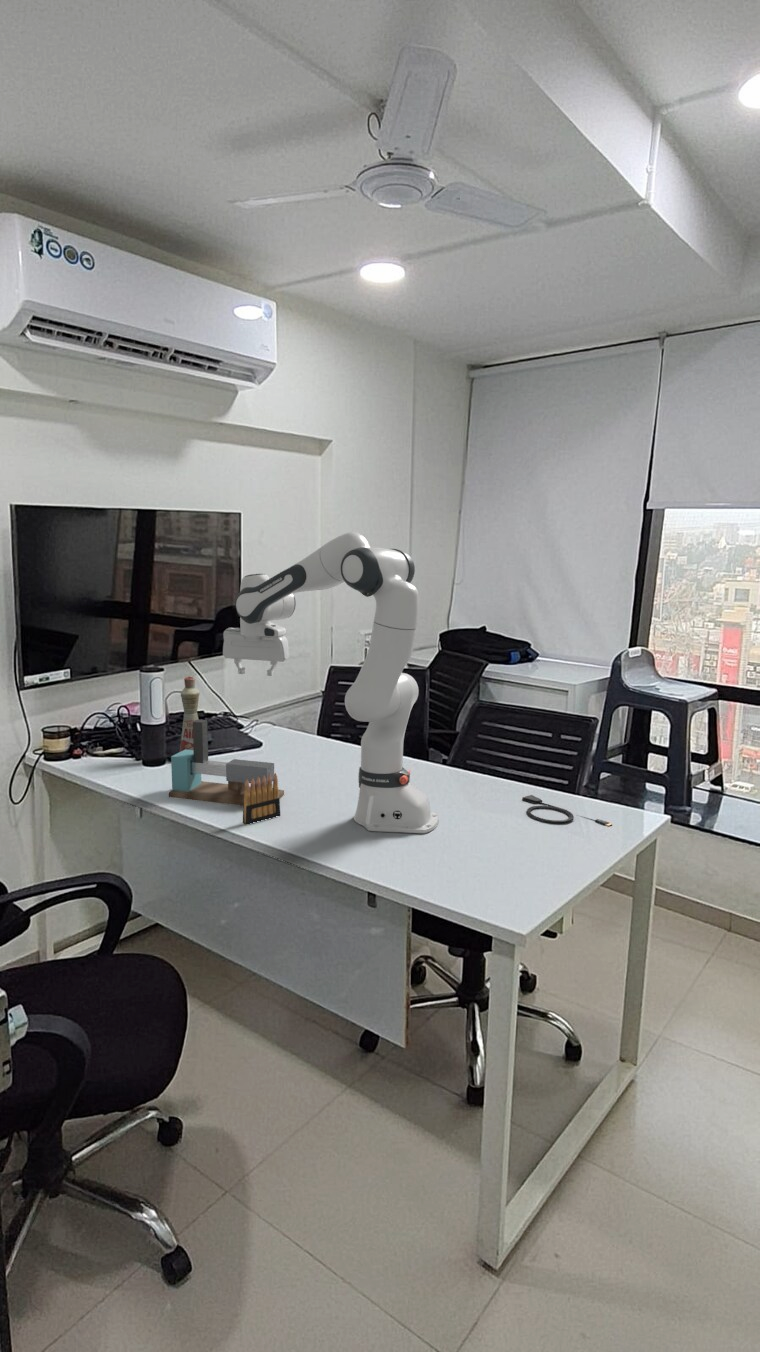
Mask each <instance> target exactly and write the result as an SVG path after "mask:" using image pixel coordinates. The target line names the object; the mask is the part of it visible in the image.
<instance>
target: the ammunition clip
mask: <svg viewBox="0 0 760 1352" xmlns="http://www.w3.org/2000/svg"><path fill="white" fill-rule="evenodd" d="M278 784H279V781H278V775H277V773H276V772H274V778H273V781H272V778H271V775H270V774H269V776H268V785H267V786H266V778H265V776H263V779H262V789H261V783H260V778H259V777H258V778H257V782H256V792H255V782H254V779H253V778H252V780H251V783H249V782H248V780H247V779H246V782H245V793H244V804H243V806H242V823H243V824H244V825H246V824H249V825H251V824H250V823H252V824H254V823H253V822H256V823H258V822H257V821H260V822H262V821H261V820H264V821H266V820H265V819H267V820H270V819H269V818H271V819H274V818H273V817H275V818H277V817H276V816H279V817H281V803H280V802H281V801H280V799H281V798H279V790H280V789H279V785H278ZM249 786H250V787H251V788H250V790H249Z"/></svg>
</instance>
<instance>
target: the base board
mask: <svg viewBox="0 0 760 1352" xmlns="http://www.w3.org/2000/svg"><path fill="white" fill-rule="evenodd" d="M266 786H267V785H266ZM250 788H251V785H249V790H250ZM261 789H262V785H261ZM255 792H256V784H255ZM244 793H245V783H242V782H233V781H227V783H221V782H212V781H211V782H209V781H205V780H204V781H203V780H201V784H200V785H198V786H197V787H195V788H193V789H192V790H190V791H188V792H185V791H176V790H172V789H171V790H170V791H168V798H173V799H180V800H181V799H182V800H189V801H190V800H191V801H198V802H205V803H216V804H222V805H223V804H225V805H233V806H242V807H243V804H244ZM283 795H284V796H285V790H284V789H279V798H280V799H281V798H282V797H284V796H283Z"/></svg>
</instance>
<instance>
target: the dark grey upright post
mask: <svg viewBox="0 0 760 1352" xmlns="http://www.w3.org/2000/svg"><path fill="white" fill-rule="evenodd" d="M208 738H209V736H208V720H207V719H199V720H196V721H193V752H194V759H193V760H191V761H190V769H191V773H196V774H201V775H207V776H208V775H209V776H216V777H225V778H226V764H227V763H228V762H226V761H217V760H216V761H215V760H209V742H208V740H209V739H208Z"/></svg>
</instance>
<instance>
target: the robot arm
mask: <svg viewBox="0 0 760 1352" xmlns="http://www.w3.org/2000/svg"><path fill="white" fill-rule="evenodd" d="M415 569H416V568H415V563H414V560H413V558H412V557H411V556H410V554H408V553H407V552H405V551H403V550H400V549H398V548H397V549H396V548H386V547H381V546H372V547H371V545H370V543H369V541H368V540H367V538H366V537H365V536H364V535H362V534H361V533H359V532H356V531H349V532H346V533H344V534H340V535H338V536H337V537H335V538H333V539H332V540H329V541H328V542H326V543H325V544H323V545H322V546H321V547H319V548H318V549H316V550H315V551H313V552H312V553H311V554H309V555H308V556H306V557H305V558H303V559H302V560H300V561H298V562H296V563H295V564H293V565H292V566H290V567H288V568H286V569H284V570H282V571H280V572H279V573H277V574H275V575H274V576H272V577H271V578H270V577H269V575H267V574H266V573H254V574H253V573H252V574H248V575H245V576H244V577H242V579H241V582H240V587H239V593H238V594H237V596H236V599H235V610H236V612H237V615H238V617H240V618H239V624H240V627H228V628H226V629H225V630H224V631H223V634H222V635H223V645H222V656H223V657H224V659H233V661H234V664H235V667H236V668H237V674H238V675H244V674H246V667H244V666H243V665H242V663H241V662H242V661H243V660H249V661H262V662H263V661H267V662H269V663H270V665H271V666H270V668H269V669H267V670H266V672H267V673H266V676H269V677H274V674H275V669H276V667H277V666H278V662H279V663H280V662H286V661H287V660H288V659H289V657H290V648H289V646H290V645H289V641H288V638H287V637H286V636H285V635H286V634H287V629H286V628H285V627H284V626H281V625H279V624H276V623H273V622H271V621H279V620H286V619H288V618H290V617H292V616H293V613H294V612H295V610H296V605H297V604H296V603H297V602H296V597H295V595H294V594H297V593H301V592H310V591H311V592H312V591H323V590H327V589H331V588H334V587H338V586H339V585H342V584H343V583H345V584H346V585H347V586H348V587H350V588H351V589H353V590H355V591H357V592H359V593H360V594H361V595H362V596H364V597H366V598H369V597H371V596H373V597H374V599H375V603H376V606H375V613H374V617H373V622H372V623H373V624H372V630H371V635H370V641H369V645H368V650H367V653H366V656H365V658H364V661H363V664H362V666H361V668H360V671H359V673H358V675H357V676H356V678H355V681H354V682H353V684H352V685H351V686H350V687H349V688H348V690H347V691H346V692H345V695H344V706H345V709H346V711H347V713H348V715H349V716H350V717H351V718H352V719H354V720H355V721H358V722H364V723H365V722H368V725H367V727H366V730H365V732H364V733H363V734H362V737H361V740H360V766H359V768H358V787H359V793H358V801H357V806H356V810H355V813H354V817H353V818H354V821H355V822H356V823H357V824H359V825H361V826H363V827H364V828H365V829H366V831H367V830H368V831H369V832H386V833H387V832H389V833H405V834H407V833H408V834H409V833H410V834H427V833H430V832H431V831H433V830H434V829H435V828H436V827H437V826H438V825H439V820H440V819H439V815H438V814H437V813H436V812H434V811H431V804H430V801H429V797H428V796H427V794H425V793H424V792H422V791H421V790H420V789H418V788H417V787H416V786H415V785H413V783H411V782H410V781H411V779H410V777H411V776H410V775H411V769H409V770H407V769H405V768H404V767H403V761H404V760H403V757H404V740H405V733H406V730H407V725H408V722H409V718H410V715H411V711H412V709H413V706H414V704H415V703H416V702H417V700H418V697H419V693H420V692H419V691H420V690H419V686H418V683H417V681H416V679H415V678H414V677H413V676H412V675H410V674H408V673H407V672H406V673H405V672H403V671H404V669H405V667H406V666H407V664H408V663H409V662H410V660H411V659H412V656H413V652H414V651H413V649H414V644H415V640H416V634H417V626H418V621H419V611H420V593H419V590H418V588H417V587H416V586H415V585H414V584H412V581H413V579H414V576H415V571H416V570H415Z"/></svg>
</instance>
